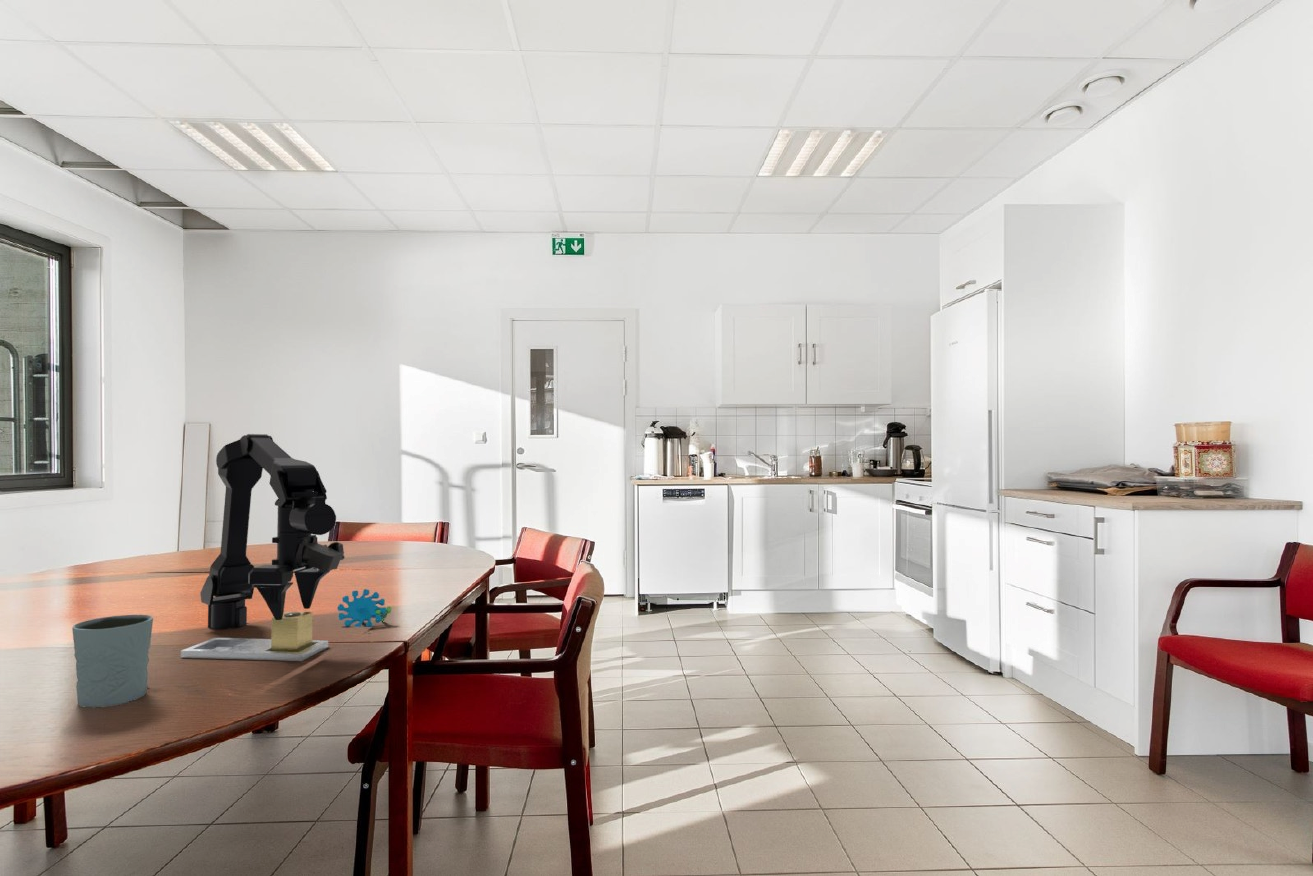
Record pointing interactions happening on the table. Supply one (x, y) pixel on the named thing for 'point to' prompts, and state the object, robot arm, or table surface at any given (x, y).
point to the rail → (248, 650)
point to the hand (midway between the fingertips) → (293, 614)
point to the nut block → (292, 632)
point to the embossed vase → (112, 659)
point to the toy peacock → (363, 609)
